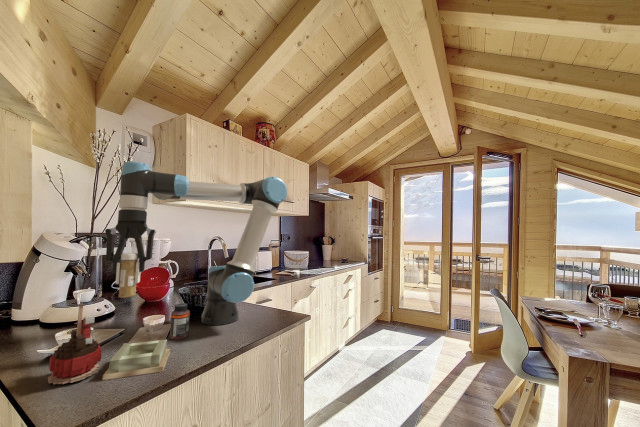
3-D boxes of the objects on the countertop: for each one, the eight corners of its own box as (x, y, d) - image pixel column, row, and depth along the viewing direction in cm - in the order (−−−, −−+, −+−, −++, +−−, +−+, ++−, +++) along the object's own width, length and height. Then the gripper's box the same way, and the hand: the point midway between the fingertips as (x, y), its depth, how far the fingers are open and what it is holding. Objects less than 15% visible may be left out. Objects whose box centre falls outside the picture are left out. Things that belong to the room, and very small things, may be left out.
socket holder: (170, 352, 81) (170, 338, 81) (162, 371, 70) (163, 354, 70) (119, 359, 76) (120, 344, 76) (102, 380, 65) (104, 362, 65)
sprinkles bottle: (135, 296, 82) (138, 253, 83) (117, 298, 80) (120, 254, 81) (136, 294, 86) (138, 252, 87) (118, 295, 84) (121, 253, 85)
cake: (45, 376, 66) (53, 303, 68) (93, 363, 73) (99, 297, 75) (50, 393, 59) (59, 311, 61) (102, 376, 67) (109, 304, 68)
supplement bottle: (170, 335, 95) (172, 303, 96) (189, 333, 97) (190, 301, 98) (168, 341, 89) (170, 307, 90) (187, 338, 92) (189, 305, 93)
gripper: (165, 211, 92) (161, 279, 90) (104, 209, 86) (99, 282, 84) (161, 210, 85) (157, 283, 83) (95, 207, 79) (88, 286, 77)
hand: (128, 282), depth 83 cm, fingers closed on sprinkles bottle, 4 cm apart
